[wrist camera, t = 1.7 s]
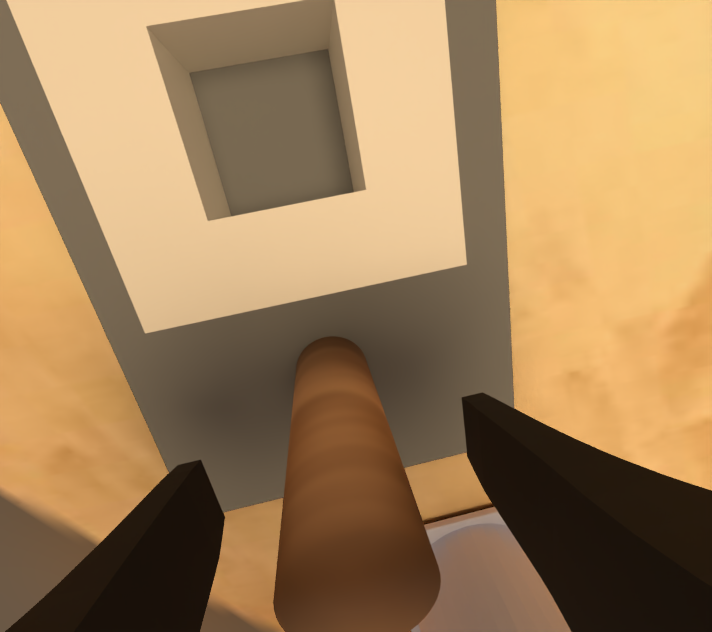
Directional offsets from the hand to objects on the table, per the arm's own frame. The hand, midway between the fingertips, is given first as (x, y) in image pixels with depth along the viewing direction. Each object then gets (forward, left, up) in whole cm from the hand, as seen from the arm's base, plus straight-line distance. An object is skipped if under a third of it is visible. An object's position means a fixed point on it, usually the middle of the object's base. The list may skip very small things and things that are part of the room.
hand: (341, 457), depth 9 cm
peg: (0, 0, -6) cm, 6 cm away
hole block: (+9, 0, -6) cm, 11 cm away
